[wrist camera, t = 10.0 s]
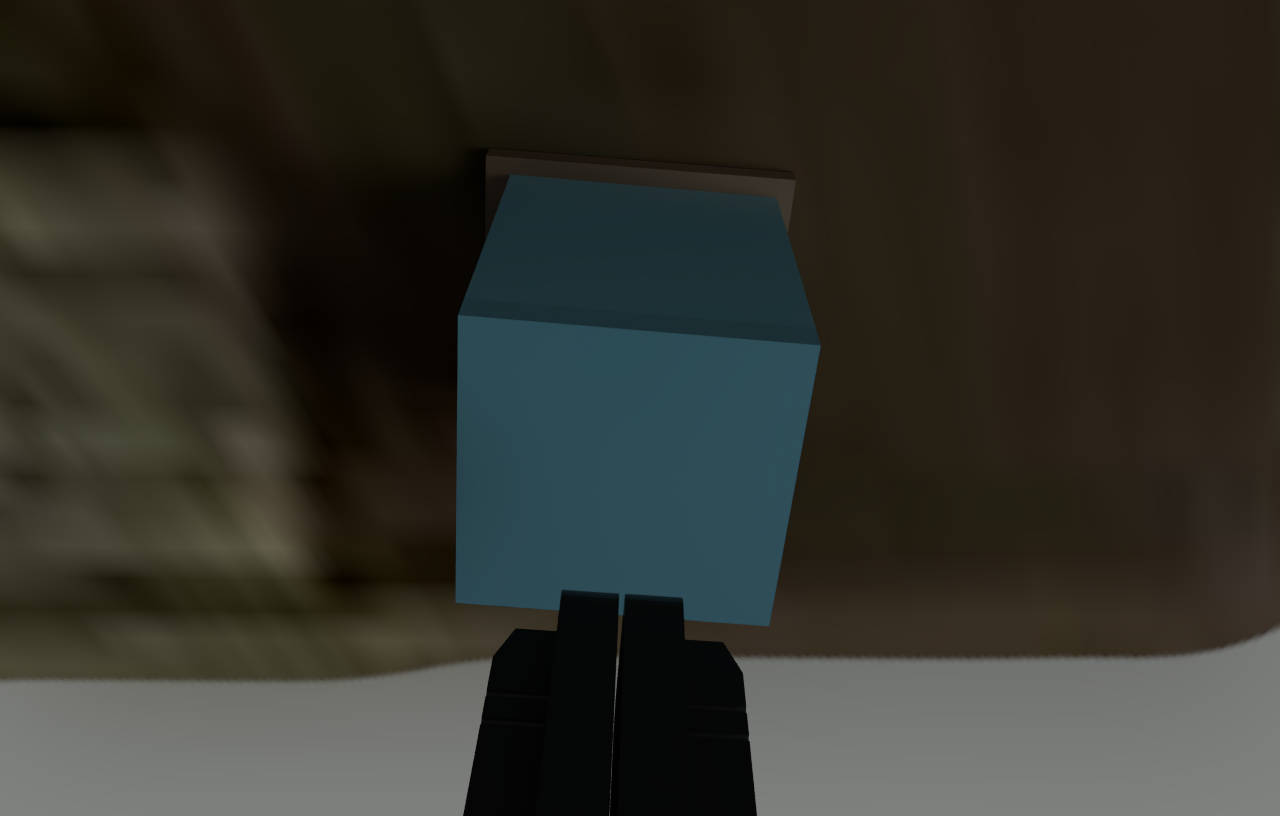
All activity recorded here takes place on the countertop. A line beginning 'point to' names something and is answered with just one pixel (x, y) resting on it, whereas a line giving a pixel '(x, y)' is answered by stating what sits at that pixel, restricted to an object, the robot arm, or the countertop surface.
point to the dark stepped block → (633, 176)
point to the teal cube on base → (630, 398)
